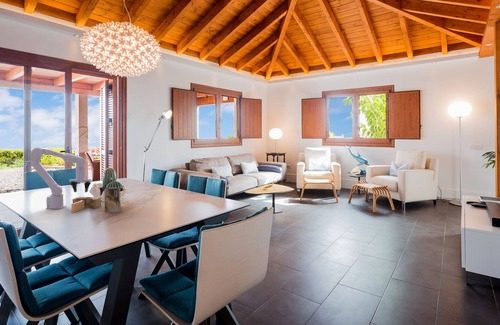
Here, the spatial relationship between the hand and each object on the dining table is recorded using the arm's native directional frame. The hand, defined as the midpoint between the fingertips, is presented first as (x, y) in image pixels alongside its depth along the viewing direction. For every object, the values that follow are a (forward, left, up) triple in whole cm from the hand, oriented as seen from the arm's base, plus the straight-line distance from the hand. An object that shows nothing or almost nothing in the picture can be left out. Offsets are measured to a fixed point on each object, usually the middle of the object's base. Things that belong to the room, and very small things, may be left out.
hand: (80, 192), depth 208 cm
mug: (+26, -4, -10) cm, 28 cm away
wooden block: (+6, -3, -10) cm, 12 cm away
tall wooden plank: (+6, -14, -10) cm, 19 cm away
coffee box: (+30, -15, -10) cm, 35 cm away
